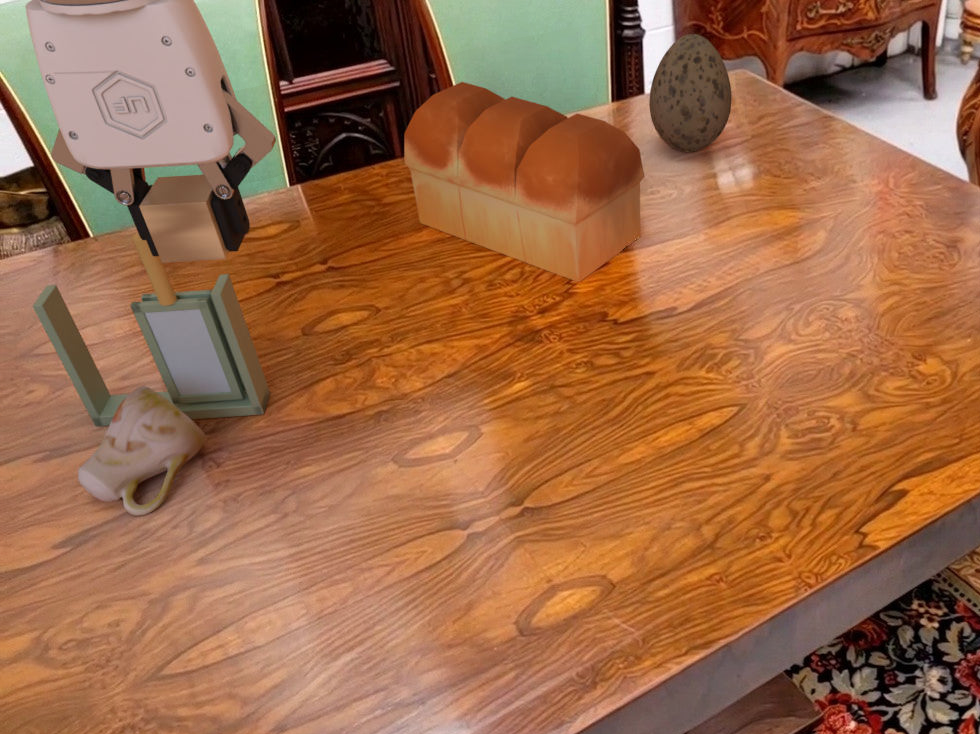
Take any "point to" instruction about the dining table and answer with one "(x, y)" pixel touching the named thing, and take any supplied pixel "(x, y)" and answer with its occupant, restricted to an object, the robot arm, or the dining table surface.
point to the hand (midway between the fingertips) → (200, 242)
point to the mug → (141, 450)
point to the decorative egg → (690, 94)
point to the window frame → (105, 405)
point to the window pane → (184, 340)
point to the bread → (524, 179)
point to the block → (183, 219)
